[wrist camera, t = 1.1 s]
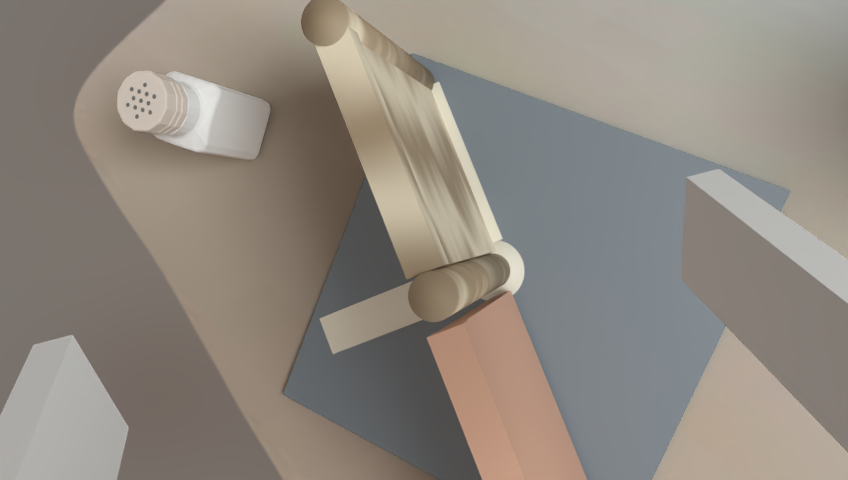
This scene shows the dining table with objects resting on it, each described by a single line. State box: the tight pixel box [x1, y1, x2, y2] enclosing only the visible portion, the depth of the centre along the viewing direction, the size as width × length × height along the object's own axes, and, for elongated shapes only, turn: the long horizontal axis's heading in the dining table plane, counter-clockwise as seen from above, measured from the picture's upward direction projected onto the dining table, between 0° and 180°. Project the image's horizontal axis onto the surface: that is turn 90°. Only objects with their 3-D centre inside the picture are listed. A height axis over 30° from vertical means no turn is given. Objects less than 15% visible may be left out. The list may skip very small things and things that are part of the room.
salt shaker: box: [117, 71, 271, 160], centre depth 38 cm, size 4×4×10 cm
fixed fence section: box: [301, 0, 510, 322], centre depth 32 cm, size 14×2×13 cm, turn 23°
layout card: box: [283, 53, 790, 480], centre depth 38 cm, size 23×22×1 cm
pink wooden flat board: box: [427, 290, 587, 480], centre depth 31 cm, size 15×2×13 cm, turn 23°
